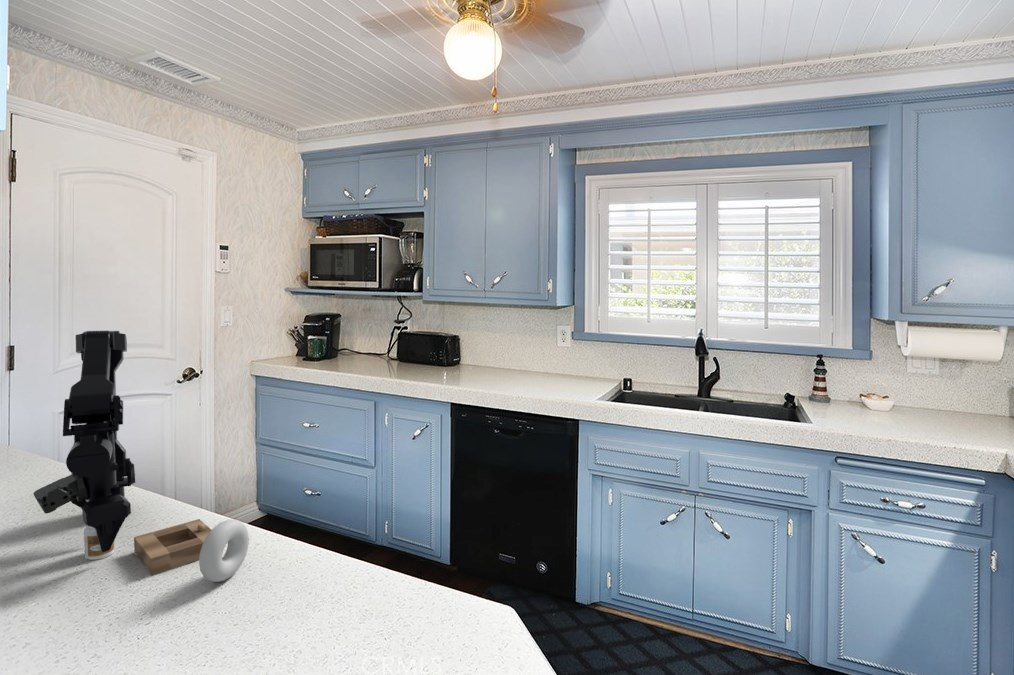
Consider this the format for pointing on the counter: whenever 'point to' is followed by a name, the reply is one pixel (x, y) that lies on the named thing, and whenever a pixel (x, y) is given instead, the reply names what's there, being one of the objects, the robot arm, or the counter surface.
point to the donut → (215, 544)
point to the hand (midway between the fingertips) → (99, 542)
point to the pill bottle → (94, 545)
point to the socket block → (171, 546)
